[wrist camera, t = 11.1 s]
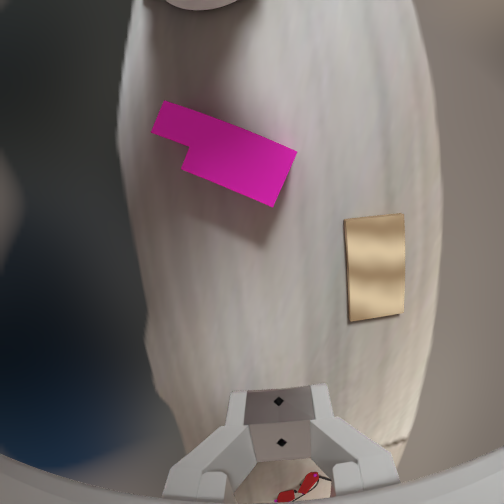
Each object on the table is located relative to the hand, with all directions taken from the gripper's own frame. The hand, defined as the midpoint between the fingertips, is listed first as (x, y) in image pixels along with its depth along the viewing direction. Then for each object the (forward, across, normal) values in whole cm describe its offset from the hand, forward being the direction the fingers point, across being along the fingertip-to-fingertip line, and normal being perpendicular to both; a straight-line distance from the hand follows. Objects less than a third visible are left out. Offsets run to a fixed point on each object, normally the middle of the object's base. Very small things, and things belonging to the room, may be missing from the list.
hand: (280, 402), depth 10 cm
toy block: (+25, +5, -9) cm, 27 cm away
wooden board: (+32, -13, +8) cm, 36 cm away
